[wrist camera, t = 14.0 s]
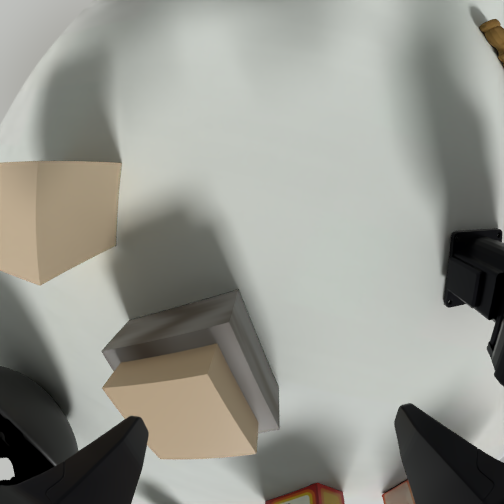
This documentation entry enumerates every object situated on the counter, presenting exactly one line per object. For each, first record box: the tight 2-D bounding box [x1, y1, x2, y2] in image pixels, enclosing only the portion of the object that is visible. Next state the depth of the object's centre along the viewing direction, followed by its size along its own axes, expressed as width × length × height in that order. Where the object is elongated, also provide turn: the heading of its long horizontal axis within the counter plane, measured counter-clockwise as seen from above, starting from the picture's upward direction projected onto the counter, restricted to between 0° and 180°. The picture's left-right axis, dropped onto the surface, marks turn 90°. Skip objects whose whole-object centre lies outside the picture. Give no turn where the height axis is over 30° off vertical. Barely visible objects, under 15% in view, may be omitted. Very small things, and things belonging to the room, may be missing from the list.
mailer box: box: [0, 161, 122, 285], centre depth 15 cm, size 6×6×9 cm
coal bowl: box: [0, 366, 78, 486], centre depth 18 cm, size 20×20×19 cm
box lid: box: [102, 344, 259, 459], centre depth 16 cm, size 8×8×3 cm
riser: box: [102, 289, 279, 433], centre depth 20 cm, size 10×10×5 cm
